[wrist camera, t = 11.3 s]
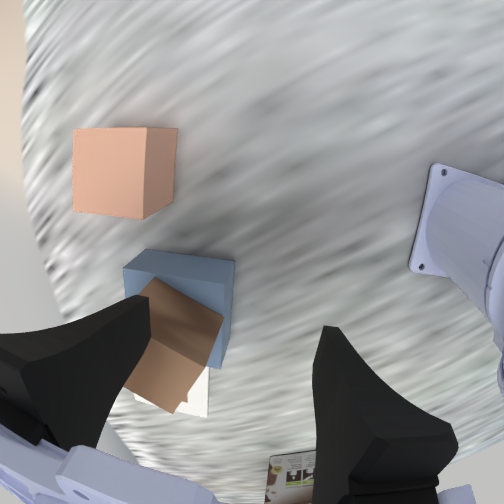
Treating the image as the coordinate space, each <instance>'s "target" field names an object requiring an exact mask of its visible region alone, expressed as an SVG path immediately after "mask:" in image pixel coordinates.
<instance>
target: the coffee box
mask: <svg viewBox="0 0 504 504" xmlns="http://www.w3.org/2000/svg"><path fill="white" fill-rule="evenodd" d="M315 460H316V451H310V452H303V453H296V454H288V455H280V456H272V457H270V461H269V470H268V478H267V486H266V493H265V503H264V504H311V501H312V493H313V484H314V473H315Z"/></svg>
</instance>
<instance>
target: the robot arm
mask: <svg viewBox="0 0 504 504" xmlns="http://www.w3.org/2000/svg"><path fill="white" fill-rule="evenodd" d="M442 169H444V170H445V174H444V175H442V174H441V171H442ZM421 264H423V267H422V268H419V266H420V265H421ZM409 269H410V270H411V271H412V272H415V273H422V274H429V275H435V276H442V277H449V278H451V279H452V281H453V282H454V283H455V284H456V285H457V286H458V287H459V288H460V289H461V290H462V291H463V292H464V293H465V294H466V295H467V297H468V298H469V299H470V300H471V301H472V302H473V303H474V304H475V305H476V307H477V308H478V309H479V310H480V311H481V312H482V313H483V315H484V316H485V317H486V318H487V319H488V320H489V322H490V323H491V324H492V326H493V328H494V338H493V342H494V343H495V344H496V345H497V347H498V348H499V349H500V351H501V352H502V353H503V355H502V357H501V360H500V362H499V365H498V370H497V380H498V386H499V388H500V391H501V393H502V395H503V397H504V185H502V184H500V183H497V182H494V181H491V180H489V179H486V178H483V177H480V176H477V175H474V174H471V173H468V172H465V171H462V170H459V169H455V168H452V167H449V166H446V165H442V164H439V163H434V164H433V165H432V166H431V169H430V174H429V180H428V185H427V190H426V195H425V200H424V205H423V210H422V214H421V219H420V223H419V227H418V231H417V235H416V239H415V243H414V247H413V250H412V254H411V258H410V261H409ZM150 339H151V324H150V308H149V297H146V296H141V295H133V296H131V297H128V298H126V299H124V300H122V301H120V302H117V303H115V304H113V305H111V306H109V307H107V308H105V309H103V310H100V311H98V312H96V313H94V314H91V315H89V316H86V317H84V318H82V319H79V320H76V321H73V322H71V323H67V324H64V325H61V326H57V327H53V328H48V329H44V330H39V331H33V332H25V333H13V334H0V485H1V486H3V487H4V488H5V489H7V490H8V491H9V492H10V493H12V494H13V495H14V496H16V497H17V498H18V499H20V500H21V501H22V502H24V503H25V504H228V503H223V502H218V500H217V499H216V497H215V496H214V494H213V493H212V492H211V491H210V490H208V489H206V488H205V487H203V486H201V485H200V484H198V483H196V482H193V481H190V480H187V479H184V478H181V477H178V476H175V475H171V474H167V473H164V472H160V471H157V470H153V469H150V468H147V467H144V466H141V465H138V464H134V463H132V462H129V461H126V460H123V459H120V458H118V457H115V456H112V455H110V454H107V453H105V452H102V451H100V450H97V449H96V446H97V443H98V440H99V438H100V435H101V432H102V429H103V427H104V424H105V422H106V420H107V417H108V415H109V413H110V410H111V408H112V406H113V404H114V402H115V399H116V397H117V396H118V394H119V392H120V390H121V389H122V387H123V386H124V384H125V383H126V381H127V379H128V378H129V376H130V375H131V373H132V372H133V370H134V369H135V367H136V365H137V364H138V362H139V361H140V359H141V358H142V356H143V354H144V352H145V350H146V348H147V346H148V343H149V341H150ZM312 389H313V399H314V410H315V420H316V436H317V439H316V460H315V473H314V484H313V493H312V501H311V504H476V502H475V498H474V495H473V491H472V488H471V485H469V484H468V485H464V486H460V487H456V488H451V489H447V490H444V491H442V492H440V493H438V494H437V493H436V488H435V487H436V486H438V485H439V479H438V476H437V475H438V474H439V473H440V472H441V471H442V470H443V469H444V468H445V467H446V466H447V465H448V464H449V463H450V461H451V460H452V459H453V458H454V456H455V455H456V453H457V451H458V448H459V447H458V442H457V439H456V436H455V434H454V431H453V429H452V426H451V424H450V423H448V422H445V421H443V420H441V419H439V418H437V417H435V416H432V415H430V414H429V413H427V412H425V411H423V410H422V409H420V408H418V407H416V406H415V405H413V404H412V403H410V402H409V401H407V400H406V399H405V398H403V397H402V396H401V395H399V394H398V393H396V392H395V391H394V390H393V389H392V388H390V387H389V386H388V385H387V384H386V383H385V382H384V381H383V380H382V379H380V378H379V377H378V376H377V375H376V374H375V372H374V371H373V370H372V369H371V368H370V367H369V366H368V365H367V364H366V363H365V361H364V360H363V359H362V358H361V357H360V355H359V354H358V353H357V351H356V350H355V349H354V348H353V346H352V345H351V344H350V342H349V341H348V340H347V338H346V337H345V335H344V334H343V333H342V331H341V330H340V329H339V327H332V326H323V330H322V334H321V337H320V341H319V345H318V348H317V352H316V355H315V359H314V362H313V373H312Z"/></svg>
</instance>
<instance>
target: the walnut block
mask: <svg viewBox="0 0 504 504" xmlns="http://www.w3.org/2000/svg"><path fill="white" fill-rule="evenodd" d="M138 295H141V296H146V297H149V308H150V324H151V339H150V341H149V343H148V346H147V348H146V350H145V352H144V354H143V356H142V358H141V359H140V361H139V362H138V364H137V365H136V367H135V369H134V370H133V372H132V373H131V375H130V376H129V378H128V379H127V381H126V383H125V384H124V386H123V387H125V388H127V389H128V390H130V391H132V392H133V393H135V394H137V395H139V396H140V397H142V398H144V399H146V400H147V401H149V402H151V403H153V404H155V405H156V406H158V407H160V408H162V409H164V410H166V411H168V412H170V413H172V414H173V413H174V411H175V410H176V409H177V407H178V406H179V404H180V403H181V401H182V400H183V399H184V397H185V396H186V394H187V393H188V392H189V390H190V389H191V387H192V386H193V384H194V383H195V382H196V380H197V379H198V377H199V376H200V375H201V373H202V372H203V370H204V369H205V367H206V364H207V362H208V359H209V357H210V354H211V351H212V349H213V346H214V344H215V341H216V338H217V336H218V333H219V331H220V328H221V325H222V323H223V320H224V318H225V317H223V316H222V315H220V314H218V313H216V312H214V311H213V310H211V309H209V308H207V307H205V306H204V305H202V304H200V303H198V302H197V301H195V300H193V299H192V298H190V297H188V296H186V295H185V294H183V293H181V292H180V291H178V290H176V289H174V288H173V287H171V286H169V285H168V284H166V283H164V282H163V281H161V280H159V279H158V278H156V277H154V278H153V279H152V280H151V281H150V282H149V283H148V284H147V285H146V287H145V288H144V289H143V290H142V291H141V292H140V293H139V294H138Z"/></svg>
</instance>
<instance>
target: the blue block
mask: <svg viewBox="0 0 504 504" xmlns="http://www.w3.org/2000/svg"><path fill="white" fill-rule="evenodd" d="M234 268H235V261H230V260H223V259H215V258H208V257H200V256H193V255H185V254H178V253H171V252H163V251H156V250H149V249H145V250H144V251H143V252H141V253H140V254H139V255H138V256H137V257H135V258H134V259H133V260H132V261H131V262H129V263H128V264H127V265H126V266H125V267H124V268H123V276H124V287H125V297H126V298H128V297H131V296H133V295H138V294H139V293H140V292H141V291H142V290H143V289H144V288H145V287H146V285H147V284H148V283H149V282H150V281H151V280H152V279H153V278H154V277H156V278H158V279H159V280H161V281H163V282H164V283H166V284H168V285H169V286H171V287H173V288H174V289H176V290H178V291H180V292H181V293H183V294H185V295H186V296H188V297H190V298H192V299H193V300H195V301H197V302H198V303H200V304H202V305H204V306H205V307H207V308H209V309H211V310H213V311H214V312H216V313H218V314H220V315H222V316H223V317H225V318H224V320H223V323H222V325H221V328H220V331H219V333H218V336H217V338H216V341H215V344H214V346H213V349H212V351H211V354H210V357H209V359H208V362H207V364H206V367H212V368H217V369H221V366H222V362H223V359H224V356H225V353H226V349H227V346H228V343H229V340H230V325H231V311H232V296H233V282H234Z"/></svg>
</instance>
